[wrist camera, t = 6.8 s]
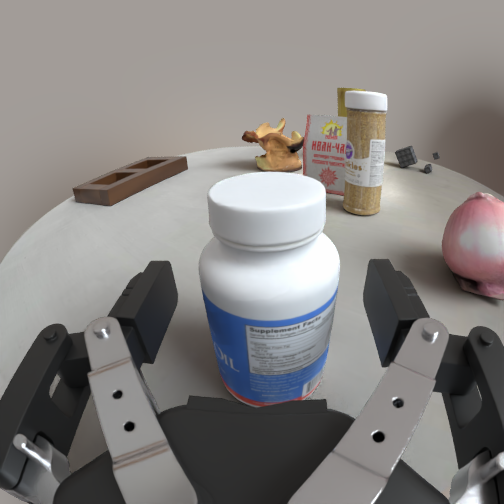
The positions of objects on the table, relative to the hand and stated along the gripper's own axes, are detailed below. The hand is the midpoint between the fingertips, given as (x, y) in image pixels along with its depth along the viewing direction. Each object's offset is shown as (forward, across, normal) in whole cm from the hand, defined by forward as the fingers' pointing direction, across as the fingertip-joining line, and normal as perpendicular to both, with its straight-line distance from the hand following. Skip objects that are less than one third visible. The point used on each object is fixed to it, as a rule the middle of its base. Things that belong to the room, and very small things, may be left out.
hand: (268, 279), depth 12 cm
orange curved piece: (+42, -1, +6) cm, 42 cm away
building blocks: (+43, -27, +6) cm, 51 cm away
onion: (+7, -17, +6) cm, 19 cm away
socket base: (+37, +25, +6) cm, 45 cm away
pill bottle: (0, 0, +6) cm, 6 cm away
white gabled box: (+29, -8, +6) cm, 31 cm away
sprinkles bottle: (+22, -10, +6) cm, 25 cm away
